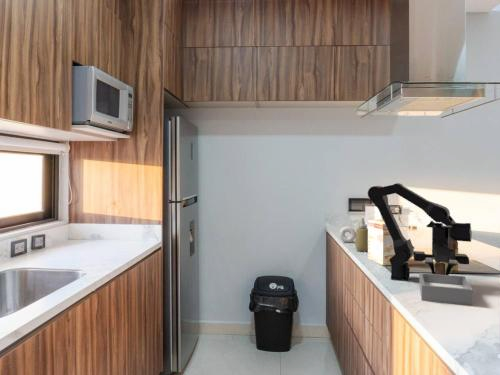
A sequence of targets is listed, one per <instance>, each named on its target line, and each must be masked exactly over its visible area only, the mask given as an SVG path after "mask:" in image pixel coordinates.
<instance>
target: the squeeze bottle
mask: <svg viewBox="0 0 500 375" xmlns="http://www.w3.org/2000/svg"><path fill="white" fill-rule="evenodd" d="M355 232H356V237H355V239H354V245H355V248H356V251H358V252H360V253H361V252H362V253H363V252H365V253H366V252H368V224H365V218H364V217H361V219H360V223H358V224H357V228H356V229H355Z"/></svg>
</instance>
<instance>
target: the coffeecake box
mask: <svg viewBox="0 0 500 375" xmlns="http://www.w3.org/2000/svg"><path fill="white" fill-rule="evenodd" d="M367 229H368V251H367V260H369V261H373V262H375V263H376V264H377V265H378V264H379V265H381V266H391V263H390V260H389V259H390V258H392V257H393V256H394V255H395V251H394V247H393V240H392V238H391V235H390V233H389V231H388V229H387V227H386V225H385V222H384V220H382V219H368V220H367Z"/></svg>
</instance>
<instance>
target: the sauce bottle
mask: <svg viewBox="0 0 500 375" xmlns="http://www.w3.org/2000/svg"><path fill="white" fill-rule="evenodd" d="M449 249H454V250H455V254H459V242H458V241H454V240H453V238H451V237H450V229H449ZM441 263H445V262H441ZM456 264H457V266H453V267H452V269H451V270H450V273H449V274H457V273H458V272H459V270H458V269H459V263H458V262H456ZM445 270H446V263H445Z"/></svg>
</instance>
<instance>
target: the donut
mask: <svg viewBox="0 0 500 375" xmlns="http://www.w3.org/2000/svg"><path fill="white" fill-rule="evenodd" d="M347 232H348V233H349V234H350V235H349V236H346V233H347ZM338 233H339V234H338V235H339V236H338V237H339V239H340V240H341V241H342V242H344V243H347V244H348V243H352V242H353V241H355V238H356V229H354V228H353V227H352V226H344V227H342V228H340V231H339V232H338Z"/></svg>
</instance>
